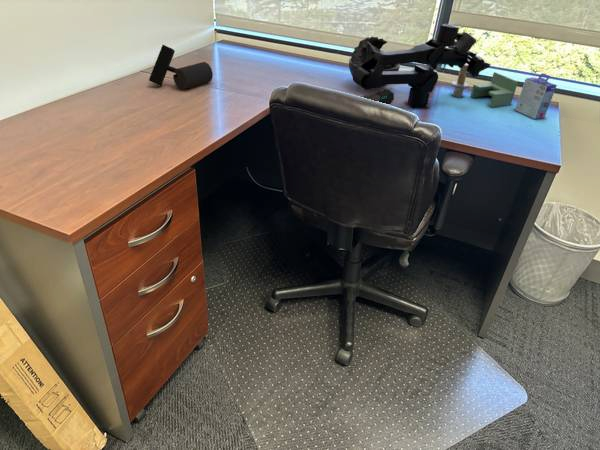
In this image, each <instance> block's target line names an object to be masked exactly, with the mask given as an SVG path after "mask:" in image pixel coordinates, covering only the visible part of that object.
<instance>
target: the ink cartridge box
mask: <svg viewBox="0 0 600 450" xmlns="http://www.w3.org/2000/svg"><path fill="white" fill-rule="evenodd" d="M544 77H545V78H544ZM550 78H551V75H549V74H546V73H543V72H542V73H541V74H540V75H539V76H538V78H537V77H525V79H524V81H523V84H522V87H521V91H520V94H519V97H518V99H517V102H516V105H515V108H514V111H516V112H519V113H520V114H523V115H525V116H527V117H530V118H532V119H534V120H537V119H545V118H546V116H547V112H548V110H549V107H550V105H551V102H552V99H553V96H554V94H555V91H556V88H557V86H558V85H557V84H555V83H551V82H549V79H550Z"/></svg>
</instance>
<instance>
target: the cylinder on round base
mask: <svg viewBox="0 0 600 450" xmlns="http://www.w3.org/2000/svg"><path fill="white" fill-rule="evenodd" d="M467 67H468V64H467V63H466V64H465V65H464V66H463V68H459V72H458V77H457V80H452V81H451V83H450V85H451V86H452V87H454V88H453V92H452V96H453V97H456V98H461V97H463V94H464V90H465V89H468V88H469V87H470V83H469V82H466V78H467V74H468V73H467V70H466V69H467Z"/></svg>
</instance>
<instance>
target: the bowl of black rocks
mask: <svg viewBox="0 0 600 450" xmlns="http://www.w3.org/2000/svg"><path fill="white" fill-rule="evenodd" d="M387 43H388V41H386V40H384V38H379V37H378V36H370V37H369V36H368V37H366V38H364V39H361V40H359V41H358V45H357V46H355V47H354V50H353V51H352V53H351V56H350V58H349V59H348V68H349V72H350V74H351V76H352V78H353V74H354V72H355V71H356V70H357V68H359V67H360V66H361V65H362V64H363V63H364V62H366V61H367V60H369V59H370V58H372V57H373V55H374V54H375V53H377V52H384V51H382V48H383V46H384V45H386V44H387ZM375 67H376V66H375ZM375 67H373V68H372V69H371V70H374V69H375ZM400 68H401V64H395V65H387V66H386V67H385V68H384V70H383V71H400ZM385 86H387V85H380V86H378V87H377V88H374V89H373V90H376V89H380V88H381V89H382V88H383V87H385Z"/></svg>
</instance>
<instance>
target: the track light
mask: <svg viewBox="0 0 600 450" xmlns="http://www.w3.org/2000/svg"><path fill="white" fill-rule="evenodd" d="M175 52H176V51H175V49H174V48H172V47H170V46H168V45H165V44H162V45H161V48H160V50H159V53H158V55H157V58H156V59H155V63H154V65H153V68H152V70H151V73H150V76H149V78H148V81H149V82H151V83H153V84H155V85H158V86H159V87H162V85H163V83H164V81H165V77H166V75H167V72H171V73H174V74H173V75H172V77H173V78H172V79H173V82H174V84H175V86H176V87H177V88H178V89H179V90H181V91H182V90H183V91H184V90H187V89H191V88H193V87H196V86H199V85H200V86H201V85H203V84H204V85H205V84H207V83H210V82H212V80H213V78H214V77H213V75H214V74H213V69H212V67H211V66H210V65H209V63H208V62H206V61H202V62H198V63H194V64H190V65H186V66H183V67H182V66H181V67H179V68H176V67H174V66H170V64H171V62H172V61H173V58H174V55H175Z"/></svg>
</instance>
